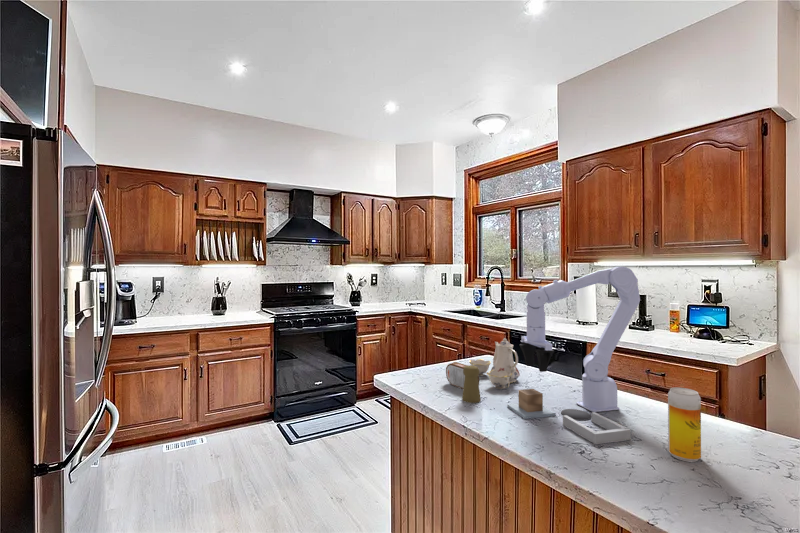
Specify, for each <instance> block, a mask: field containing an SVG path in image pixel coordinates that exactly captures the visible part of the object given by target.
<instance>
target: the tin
mask: <svg viewBox="0 0 800 533" xmlns="http://www.w3.org/2000/svg"><path fill="white" fill-rule="evenodd" d="M465 366H469V365H467V364H464V363H461V362H457V361H454V362H452V363H448V364H447V366H446V367H445V375H446V379H447V381H448V383H449V384H450V385H451V386H453V387H456V388H459V389H462V390H463V388H464V380H465V375H464V373H463V369H464V367H465ZM478 383H479V384H480V377H479V376H478Z"/></svg>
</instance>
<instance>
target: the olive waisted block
mask: <svg viewBox="0 0 800 533" xmlns="http://www.w3.org/2000/svg"><path fill="white" fill-rule="evenodd" d="M463 373H464V375H465V380H464V388H463V389H462V397H461V400H462V401H463V402H465V403H469V404H477V403H480V402H481V401H482V399H481V392H480V382H479V383H478V375H479V369H478V367H476V366H472V365H471V364H469V365H468V366H465V367H464V369H463Z"/></svg>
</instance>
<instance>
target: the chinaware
mask: <svg viewBox="0 0 800 533" xmlns="http://www.w3.org/2000/svg"><path fill="white" fill-rule="evenodd" d="M494 344H495V350H494V354H493V358H492V359H493V360H492V367H491V369H490V370H489V368H490V365H491V361H490V360H484V359H480V358H479V359H476V360H474V359H470V360H469V365H472V366H476V367H478V369H479V375H478V376H481V377H483V376H485V373H486V375H488V378H489V382H490V383H491V384H492V385H493V386H494V389H497V390H502V389H503V390H504V389H508V388H509V387H510V384H513V382H514V383H516V382H517V379H518V378H519V377H520V374H521V373H520V371H519V369H518V368H517V365H518V363H519V356H518V353H517V351H515V349H513V348H514V344H511V343H510V341H508V339H507V338H506V337H504V338H503V339H502V340H501V341H500V342H498V341H494ZM513 354H514V356H513ZM514 357H515V358H514ZM514 359H515V361H514ZM487 371H488V372H487Z"/></svg>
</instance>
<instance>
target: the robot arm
mask: <svg viewBox="0 0 800 533" xmlns="http://www.w3.org/2000/svg"><path fill="white" fill-rule="evenodd" d="M638 282H639V281H638V278H637V277H636V275H635V273H634V272H633V270H632V269H631V268H629V267H626V266H614V267H611V268H605V269H604V268H603V269H599V270H596V271H594V272H591V273H589V274H588V273H587V274H585V275H583V276H580V277H577V278H575V279H573V280H569V281H565V280H562V279H559V280H558V279H554V280H553V281H552V283H548V284H546V285H543V286H542V285H538V289H536V288H535V289H532V290H530V291H529V292H528V293H527V294H526V296H525V301H526V304H527V305H526V335H522V336H520V338H521V341H520V342H521V343H520V344H519V347H520V350H521V351H522V354H523V358H524V362H525V366H527V367H529V366H531V367H532V366H534V361H535V360H534V358H535V354H536V357H537V362H538V371H539V372H541V373H542V372H543V373H544V372H547V371H548V368H549V363H550V360H551V358H552V356H553V354H554V353H555V350H554V349H553V343H550V342H549V341H548V340H546V312H545V303H546V304H551V303H554V302H557V301H560V300H563V299H567V298H568V297H569V296H570V294H571V292H574V291H577V290H579V289H583V288H586V287H590V286H592V285H596V284H600V285H611V287H613V289H615V292H616V294H617V296H618V298H619V302H618V303H617V305H616V307H615V309H614V310H613V313H612V314H611V316H610V319H609V321H608V323H607V324H606V325H605V328H604V330H603V331H602V333H601V335H600V338H598V341H597V343H596V345H595V346H594V347H593V348H592V350H591V352H590V353H588V354H587V355H585V357H583V360H582V365H583V367H584V373H583V374H582V376H581V377H582V378H581V379H582V380H581V381H582V383H581V385H582V390H581V391H582V396H581V397H582V400H581V401H576V402H575V404H577V405H579V406H580V407H582V408H584V409H586V410H588V411H590V412H591V413H592V412H596V413H598V412H608V411H609V412H610V411H616V410H617V411H618V410H620V407H619V406H618V385H617V383H616V380H614V378H611V377H609V376H608V373H609V365H610V363H611V359H612V355H613V353H614V350H615V349H616V347H617V345H618V343H619V342H620V339H622V336H623V335H624V332H625V330H626V329H627V327H628V325H629V323H630V321H631V319H632V317H633V315H634V314H635V312H636V310H637V308H638V307H639V305H640V301H641V296H640V290H639V285H638V284H639V283H638Z"/></svg>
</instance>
